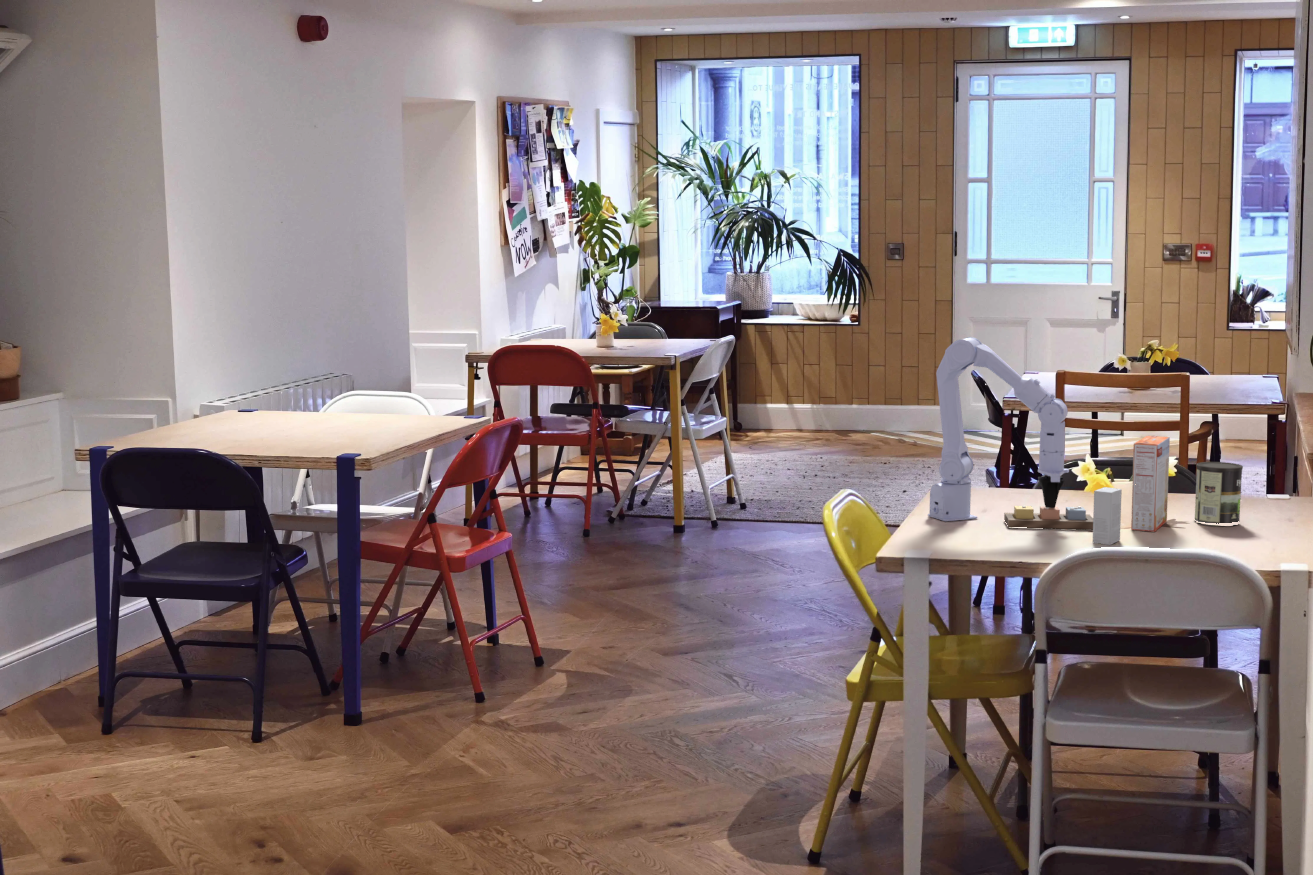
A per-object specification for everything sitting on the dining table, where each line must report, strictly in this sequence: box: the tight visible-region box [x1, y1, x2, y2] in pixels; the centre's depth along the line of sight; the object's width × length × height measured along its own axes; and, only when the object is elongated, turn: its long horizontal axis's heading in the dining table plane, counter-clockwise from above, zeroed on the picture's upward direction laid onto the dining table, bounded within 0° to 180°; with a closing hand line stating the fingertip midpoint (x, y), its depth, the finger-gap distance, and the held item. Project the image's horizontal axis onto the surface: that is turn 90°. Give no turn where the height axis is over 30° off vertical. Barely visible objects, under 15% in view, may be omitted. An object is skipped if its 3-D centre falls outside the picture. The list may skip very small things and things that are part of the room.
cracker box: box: [1130, 435, 1171, 533], centre depth 329 cm, size 14×6×21 cm, turn 149°
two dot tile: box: [1039, 506, 1061, 519], centre depth 331 cm, size 4×4×4 cm
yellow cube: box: [1013, 505, 1035, 519], centre depth 332 cm, size 4×4×4 cm
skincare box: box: [1092, 486, 1122, 546], centre depth 313 cm, size 6×4×12 cm
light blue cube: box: [1065, 505, 1087, 520], centre depth 331 cm, size 4×4×4 cm
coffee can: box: [1194, 461, 1244, 524], centre depth 334 cm, size 10×10×14 cm
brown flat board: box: [1003, 512, 1093, 531], centre depth 332 cm, size 20×9×2 cm, turn 82°
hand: (1049, 507), depth 331 cm, fingers closed, pressing on two dot tile
